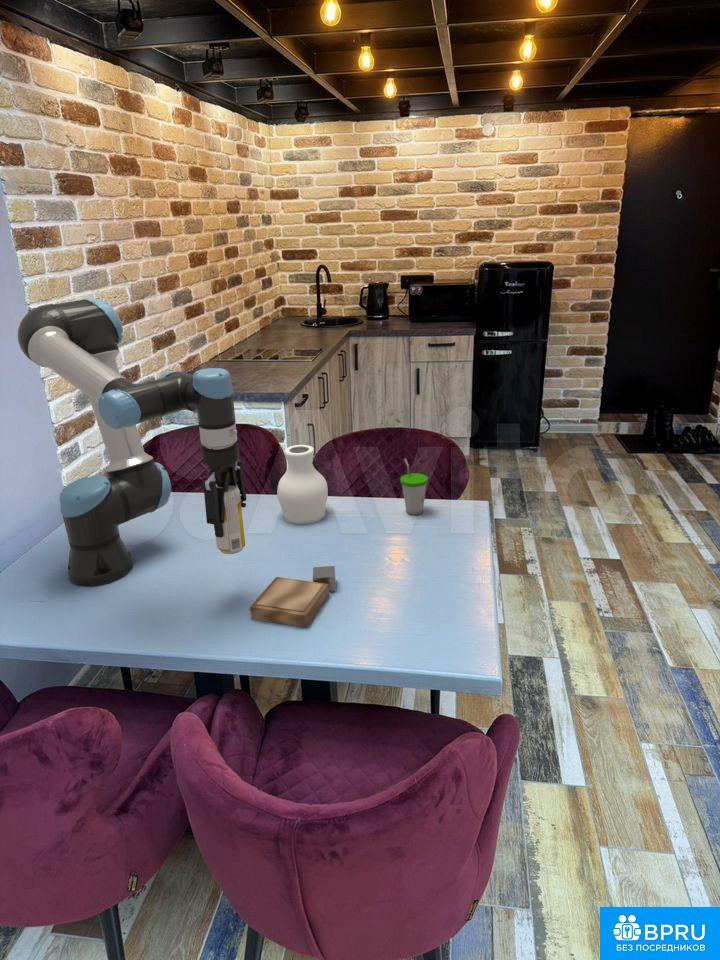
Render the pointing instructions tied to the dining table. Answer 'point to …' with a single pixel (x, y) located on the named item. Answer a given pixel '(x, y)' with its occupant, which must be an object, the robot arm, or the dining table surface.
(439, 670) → the dining table surface
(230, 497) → the beer can
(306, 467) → the vase
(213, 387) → the robot arm
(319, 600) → the plinth
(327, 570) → the steel block
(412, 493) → the cup
